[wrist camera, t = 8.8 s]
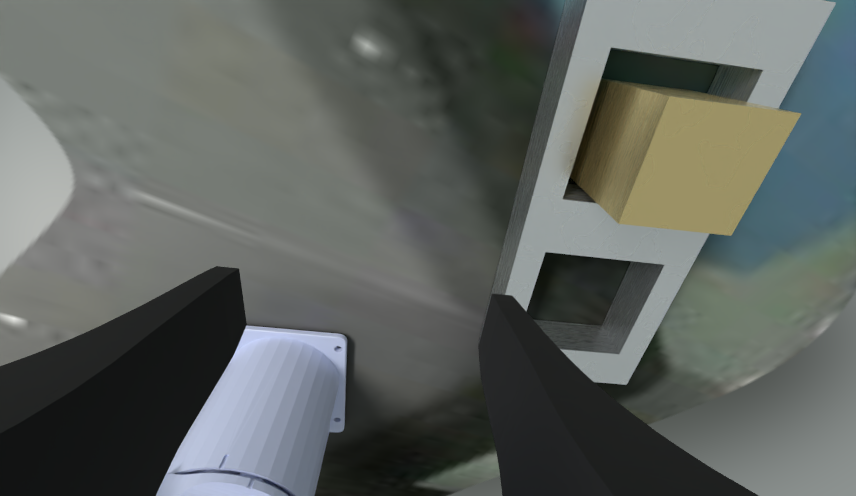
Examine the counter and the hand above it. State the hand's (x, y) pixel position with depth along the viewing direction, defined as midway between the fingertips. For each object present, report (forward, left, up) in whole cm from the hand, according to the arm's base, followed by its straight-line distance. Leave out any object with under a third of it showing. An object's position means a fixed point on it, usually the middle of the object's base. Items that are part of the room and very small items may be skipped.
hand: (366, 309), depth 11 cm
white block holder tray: (0, -11, -10) cm, 15 cm away
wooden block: (+4, -11, -10) cm, 15 cm away
